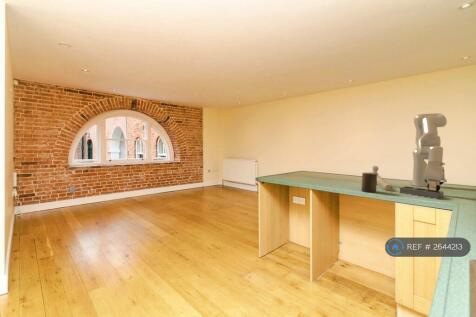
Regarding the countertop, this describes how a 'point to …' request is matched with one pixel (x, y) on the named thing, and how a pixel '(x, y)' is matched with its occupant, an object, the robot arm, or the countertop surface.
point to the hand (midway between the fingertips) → (433, 189)
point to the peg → (432, 185)
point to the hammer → (381, 179)
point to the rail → (422, 192)
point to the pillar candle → (369, 182)
